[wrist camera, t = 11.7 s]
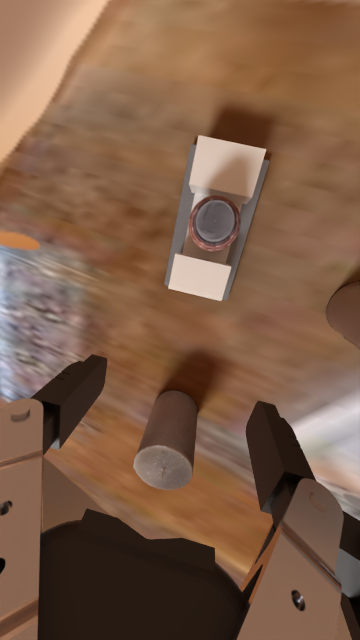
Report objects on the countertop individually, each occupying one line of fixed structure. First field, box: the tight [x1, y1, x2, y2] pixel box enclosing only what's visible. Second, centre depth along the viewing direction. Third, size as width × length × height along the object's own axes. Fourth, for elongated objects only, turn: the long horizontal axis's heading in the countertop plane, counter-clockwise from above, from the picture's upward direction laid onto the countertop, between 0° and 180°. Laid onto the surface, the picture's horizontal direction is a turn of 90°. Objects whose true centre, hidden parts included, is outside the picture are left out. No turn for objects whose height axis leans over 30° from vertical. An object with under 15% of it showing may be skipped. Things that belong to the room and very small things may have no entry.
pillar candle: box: [133, 391, 197, 490], centre depth 39 cm, size 10×10×15 cm
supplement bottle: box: [189, 195, 241, 251], centre depth 27 cm, size 6×6×11 cm
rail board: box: [164, 135, 270, 301], centre depth 31 cm, size 20×11×6 cm, turn 168°
